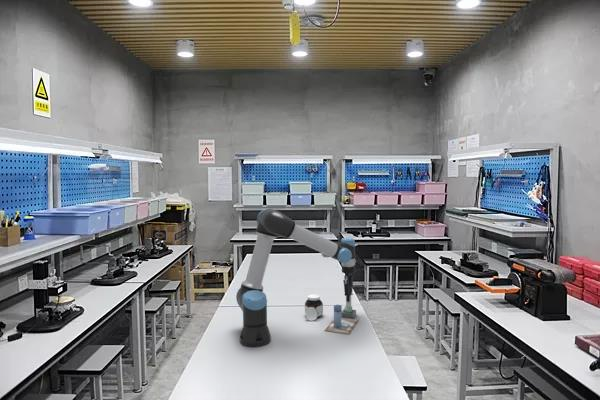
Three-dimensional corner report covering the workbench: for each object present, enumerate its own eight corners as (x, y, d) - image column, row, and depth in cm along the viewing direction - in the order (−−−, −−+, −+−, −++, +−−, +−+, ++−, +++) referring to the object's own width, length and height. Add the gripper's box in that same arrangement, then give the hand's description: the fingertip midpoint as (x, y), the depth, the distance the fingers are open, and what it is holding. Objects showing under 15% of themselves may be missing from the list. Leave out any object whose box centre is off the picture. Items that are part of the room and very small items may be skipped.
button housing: (353, 319, 226) (353, 314, 225) (340, 317, 228) (340, 312, 228) (356, 315, 232) (356, 309, 232) (344, 313, 235) (344, 308, 235)
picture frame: (349, 334, 205) (349, 333, 205) (324, 331, 210) (324, 329, 210) (358, 320, 223) (358, 319, 223) (336, 317, 228) (336, 316, 228)
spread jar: (319, 312, 237) (319, 293, 236) (327, 319, 226) (327, 299, 225) (300, 315, 232) (299, 295, 231) (307, 322, 222) (307, 301, 221)
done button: (351, 315, 227) (351, 308, 227) (343, 314, 229) (343, 307, 229) (353, 313, 231) (353, 306, 231) (346, 312, 233) (345, 305, 233)
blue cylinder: (340, 328, 211) (340, 307, 210) (332, 327, 213) (332, 306, 212) (342, 325, 215) (342, 305, 214) (335, 324, 216) (335, 304, 216)
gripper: (351, 268, 221) (352, 311, 222) (357, 263, 233) (358, 303, 234) (338, 267, 223) (339, 309, 225) (345, 262, 235) (345, 302, 237)
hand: (348, 306), depth 230 cm, fingers closed
